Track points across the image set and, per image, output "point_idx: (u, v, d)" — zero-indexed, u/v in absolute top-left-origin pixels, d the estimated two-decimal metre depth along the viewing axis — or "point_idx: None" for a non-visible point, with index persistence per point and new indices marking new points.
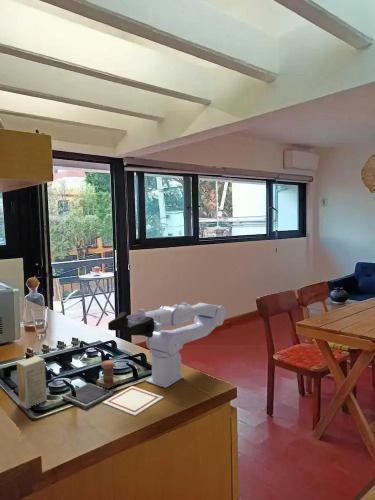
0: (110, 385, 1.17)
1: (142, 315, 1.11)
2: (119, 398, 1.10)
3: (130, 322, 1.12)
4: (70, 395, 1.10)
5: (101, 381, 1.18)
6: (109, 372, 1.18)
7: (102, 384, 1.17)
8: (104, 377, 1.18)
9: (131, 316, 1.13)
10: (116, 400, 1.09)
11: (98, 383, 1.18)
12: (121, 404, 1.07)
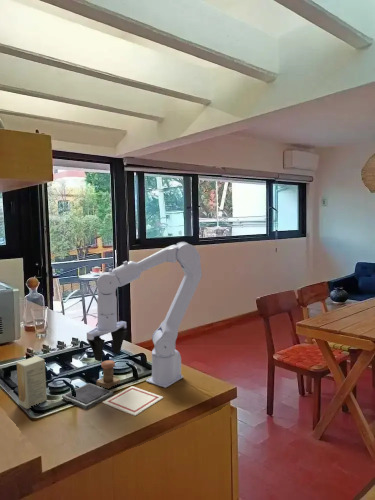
0: (110, 385, 1.17)
1: None
2: (119, 398, 1.10)
3: None
4: (70, 395, 1.10)
5: (101, 381, 1.18)
6: (109, 372, 1.18)
7: (102, 384, 1.17)
8: (104, 377, 1.18)
9: None
10: (116, 400, 1.09)
11: (98, 383, 1.18)
12: (121, 404, 1.07)
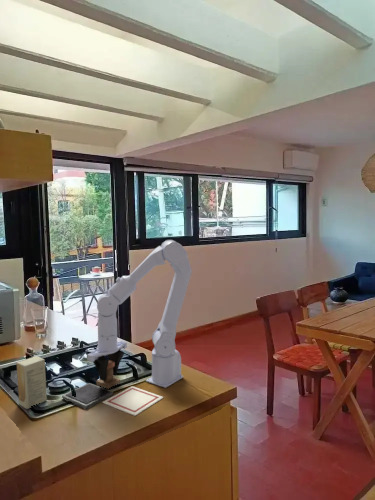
0: (110, 385, 1.17)
1: None
2: (119, 398, 1.10)
3: None
4: (70, 395, 1.10)
5: (101, 381, 1.18)
6: (109, 371, 1.18)
7: (102, 384, 1.17)
8: None
9: None
10: (116, 400, 1.09)
11: (98, 383, 1.18)
12: (121, 404, 1.07)
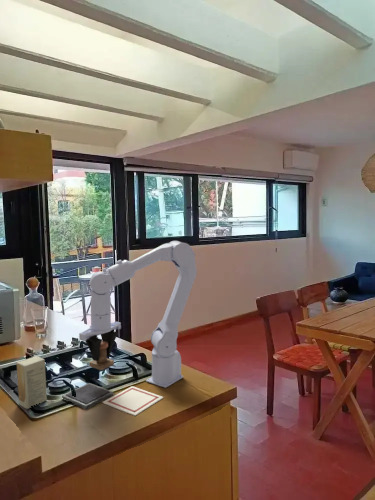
0: (103, 366, 1.14)
1: None
2: (119, 398, 1.10)
3: None
4: (70, 395, 1.10)
5: (94, 362, 1.15)
6: (102, 352, 1.15)
7: (95, 365, 1.14)
8: None
9: None
10: (116, 400, 1.09)
11: (91, 364, 1.15)
12: (121, 404, 1.07)
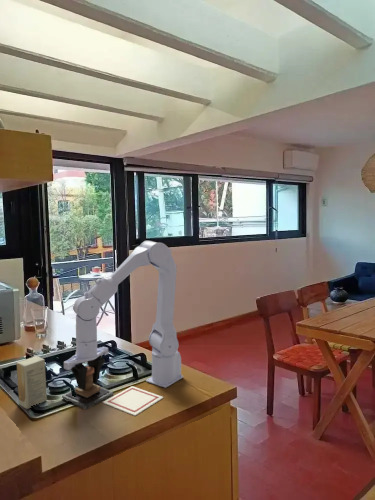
0: (89, 393, 1.09)
1: None
2: (119, 398, 1.10)
3: None
4: (70, 395, 1.10)
5: (80, 389, 1.10)
6: (88, 379, 1.10)
7: (81, 392, 1.09)
8: None
9: None
10: (116, 400, 1.09)
11: (77, 391, 1.10)
12: (121, 404, 1.07)
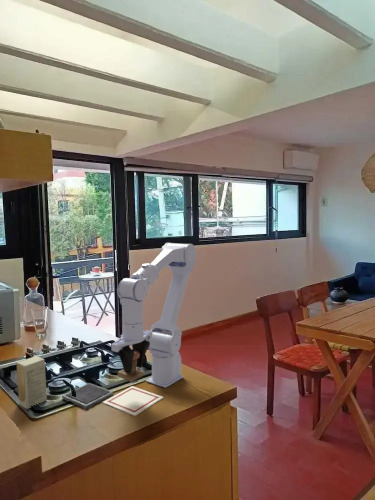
0: (133, 377, 1.07)
1: None
2: (119, 398, 1.10)
3: None
4: (70, 395, 1.10)
5: (123, 373, 1.08)
6: (134, 363, 1.08)
7: (124, 376, 1.07)
8: None
9: None
10: (116, 400, 1.09)
11: (120, 374, 1.08)
12: (121, 404, 1.07)
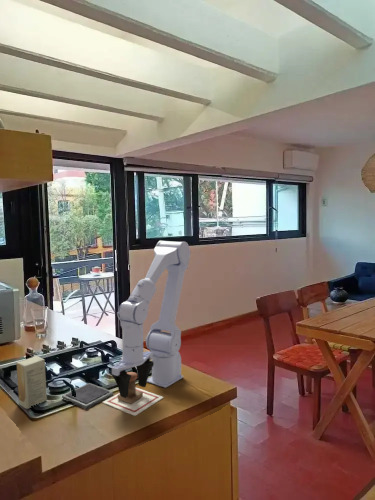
0: (133, 399, 1.07)
1: None
2: None
3: None
4: (70, 395, 1.10)
5: None
6: (132, 385, 1.08)
7: (124, 398, 1.08)
8: None
9: None
10: (116, 400, 1.09)
11: (119, 397, 1.09)
12: (121, 404, 1.07)
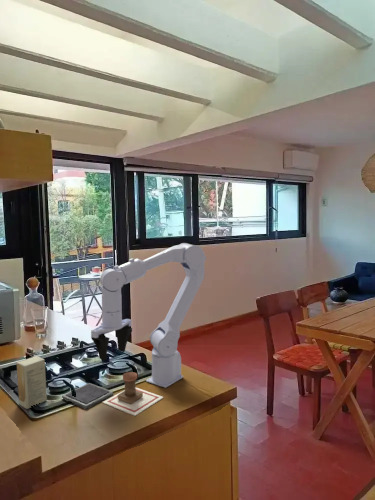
0: (133, 399, 1.07)
1: None
2: None
3: None
4: (70, 395, 1.10)
5: (123, 395, 1.09)
6: (132, 385, 1.08)
7: (124, 398, 1.08)
8: (126, 390, 1.09)
9: None
10: (116, 400, 1.09)
11: (119, 397, 1.09)
12: (121, 404, 1.07)
